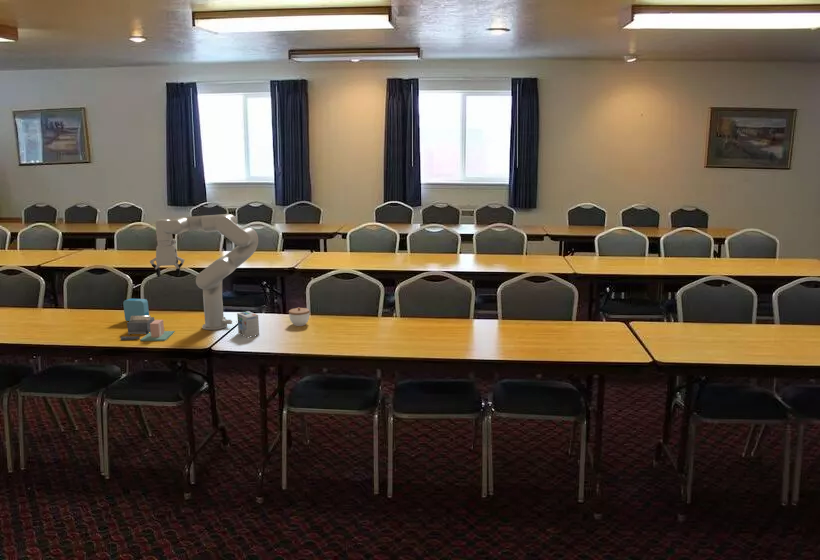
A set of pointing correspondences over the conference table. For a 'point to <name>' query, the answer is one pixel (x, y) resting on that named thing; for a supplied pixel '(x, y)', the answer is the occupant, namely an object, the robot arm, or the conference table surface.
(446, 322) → the conference table surface
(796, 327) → the conference table surface
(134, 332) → the dispenser
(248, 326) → the light bulb box
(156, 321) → the pink rectangular prism
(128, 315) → the data package
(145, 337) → the pad
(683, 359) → the conference table surface
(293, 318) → the lidded jar
